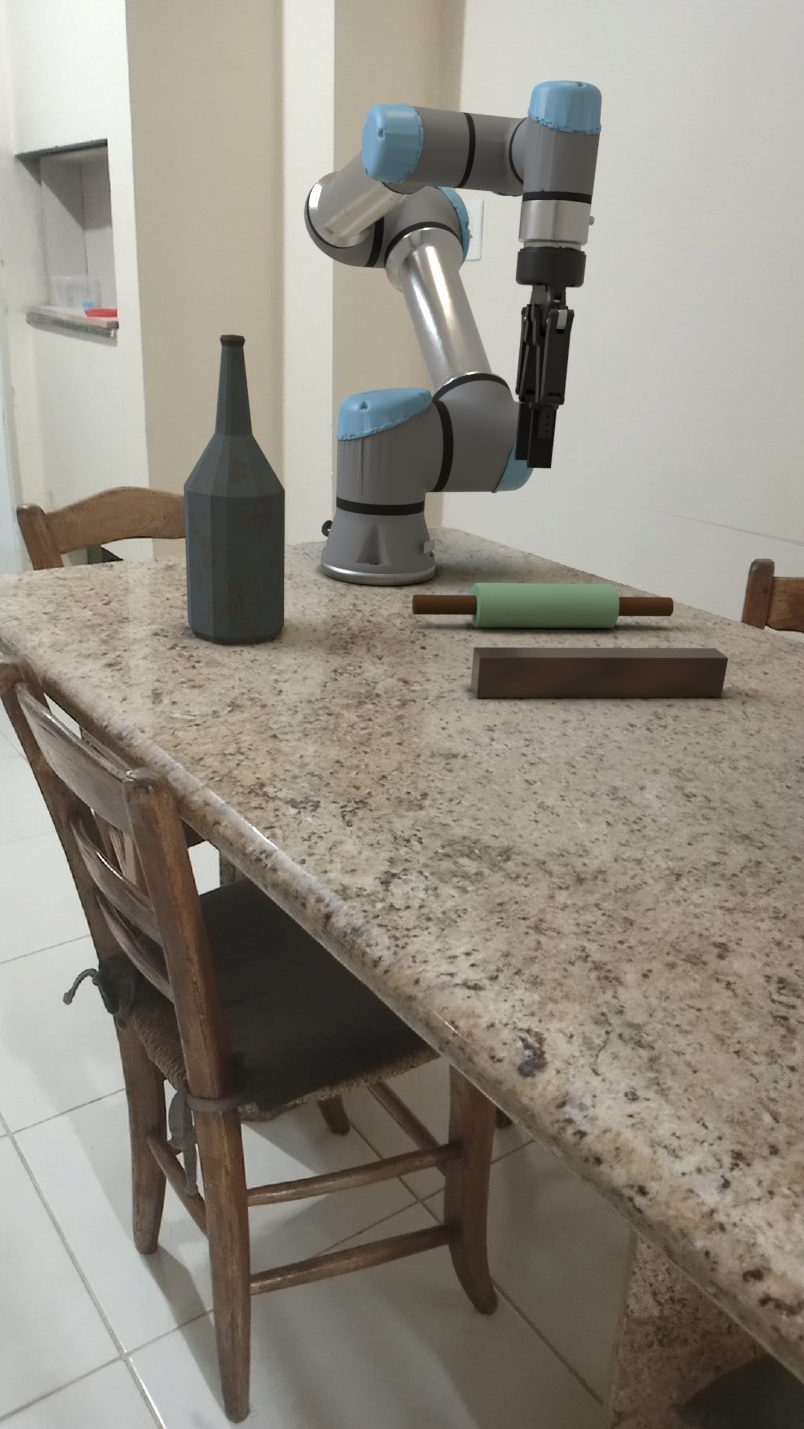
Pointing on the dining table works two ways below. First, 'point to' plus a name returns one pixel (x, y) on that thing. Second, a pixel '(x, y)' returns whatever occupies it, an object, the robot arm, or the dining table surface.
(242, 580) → the bottle
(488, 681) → the bar
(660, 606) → the rolling pin
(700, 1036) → the dining table surface
